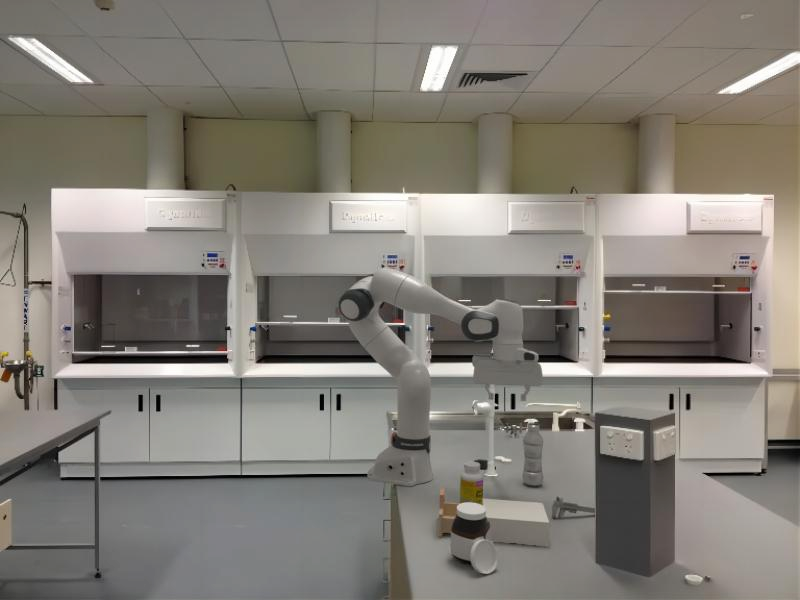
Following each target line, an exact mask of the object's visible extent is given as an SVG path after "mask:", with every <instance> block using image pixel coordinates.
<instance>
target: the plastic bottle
mask: <svg viewBox="0 0 800 600" xmlns="http://www.w3.org/2000/svg"><path fill="white" fill-rule="evenodd" d="M526 429H527V432H526V433H525V434H524V436H523V437H522V444H523V445H522V446H523V450H524V451H523V452H524V454H523V455H524V463H523V464H524V465H523V470H522V481H523V482H524V484H525V485H527V486H531V487H539V486H541V485H543V482H544V473H543V466H542V465H543V463H542V462H543V461H542V456H543V448H544V438H543V437H542V435H541V433H540V424H539V423H535V422H529V423H527V428H526Z"/></svg>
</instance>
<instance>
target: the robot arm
mask: <svg viewBox="0 0 800 600" xmlns="http://www.w3.org/2000/svg"><path fill="white" fill-rule="evenodd" d="M385 303H387V304H390V305H392V306H394V307H395V308H398V309H400V310H403V311H406V312H409V313H413V314H417V315H418V314H421V315H423V314H424V315H435V316H439V317H443V318H445V319H446V320H448V321H452V322H454V323H456V324H458V325H460V328H461V331H462V334H463V335H464V337H466V339H468V340H470V341H473V342H483V341H488V340H491V341H492V352H477V353H476V354H474V355H473V356H472V359H471V361H472V362H471V363H472V364H471V365H472V366H473V376H472V377H473V378H472V382H474V384H475V385H484V389H485V390H486V392H487V394H488V395H487V396H488V400H491V401H492V400H494V392H491V391H490V388H491V386H490V385H498V386H519V387H520V386H523V387H524V389H525V391H524V392H523V393H520V401H521V402H527V396H528V394H529V393H530V391H531V387H541V386H542V384H543V383H544V377H543V369H542V368H543V367H542V366H541V364H540V363H539V354H538V353H537V352H535V351H533V350H530V349H527V348H524V342H523V341H524V340H523V333H524V311H523V307H522V305H521V304H520V303H519V302H517V301H516V300H512V299H506V298H496V299H495V300H494V301H493V302H491V303H489V304H487V305H484V306H482V307H480V308H479V307H478V308H473V307H470V306H467V305H465V304H462V303H460V302H458V301H455V300H453V299H451V298H449V297H446V296H445V295H443V294H442V293H440V292H439V291H437V290H436V289H434V288H433V287H432V286H430V285H429V284H427V283H425V282H424V281H422V280H421V279H419V278H417V277H415V276H413V275H411V274H408V273H406V272H404V271H401V270H397V269H394V268H389V267H380V268H378V269H377V270H376V271H375V272H374V273H372V274H369V275H366V276H365V277H363V278H362V279H360V280H357V281H356V282H355V283H354V284H353V285H352V286H350V288H349V289H348V290H347V289H346V291H344V293H342V295H341V296H340V298H339V300H338V309H339V312H340V314H341V315H342V317H344V319H346V320H348V327H349V329H350V331H351V332H352V334H353V335H354V336H355V338H356V340H357V341H358V342H359V343H360V345H361V346H362V348H364V350H365V351H366V352H367V353H369V355H370V356H371V357H372V359H374V361H376V363H377V364H378V365H379V366H381V367H382V368H383V369H384V370H385V371H386V372H387V373H388V374H389V375H390V376H392V378H393V379H394V380H395V381H396V382H397V409H396V410H397V412H396V413H397V414H396V415H397V418H396V420H397V421H396V423H397V424H396V425H397V427H396V430H397V431H395V432H393V433H392V434H391V438H390V443H391V445H389V446H388V447H386V448H385V449H383V451H380V453H378V455H377V456H376V458H375V461H374V465H373V466H372V467H371V468H369V470H368V471H367V475H366V477H367V479H368V480H369V481H370V482H377V483H385V484H391V485H399V486H406V487H414V486H415V485H419V484H424V483H428V482H430V481H432V480H433V479H434V473H433V470H432V463H431V454H430V453H431V448H432V440H431V435H430V416H431V415H430V413H431V391H432V388H431V387H432V377H431V375H430V372H429V369H428V367H427V366H426V364H425V363H423V361H422V360H421V359H420V358H419V357H417V355H416V354H415V353H414V352H413V351H412V349H410V348H409V347H408V346H407V345H406V344H405V343H404V341H402V340H401V339H400V337H399V336H397V334H396V333H395V332H394V331H393V330H392V329H391V328H390V326H388V324H387V323H386V322H385V321H384V320H383V319H382V318H381V316H380V314H379V309H383V307H384V306H385Z"/></svg>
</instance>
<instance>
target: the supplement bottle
mask: <svg viewBox="0 0 800 600" xmlns="http://www.w3.org/2000/svg"><path fill="white" fill-rule="evenodd" d="M463 468H464V470H462V471H461V472H460V478H459V479H460V480H459V483H460V484H459V486H460V487H459V490H460V491H459V503H466V502H472V503H478V504H480V505H482V501H483V499H484V475H483V473H482V472H481V471H480V469H481V464H480V462H477V461H473V460H467V461H465V462H464V463H463Z"/></svg>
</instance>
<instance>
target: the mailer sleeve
mask: <svg viewBox="0 0 800 600" xmlns="http://www.w3.org/2000/svg"><path fill="white" fill-rule="evenodd" d="M482 505H483V506H484V507H485V508H486V517H487V518H488V519H489V522H490V541H494V542H493V543H498V542H506V543H505V544H509V543H517V544H516V545H521V544H525V545H524V546H533V545H536V547H544V546H545V548H546V547H547V548H549V547H550V546H549V545H550V521H549V518H548V516H547V515H548V514H547V512H546V509H545V507H544V503H543V502H537V501H535V502H533V501H520V500H508V499H507V500H505V499H493V498H492V499H491V498H483V501H482ZM526 544H527V545H526Z"/></svg>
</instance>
